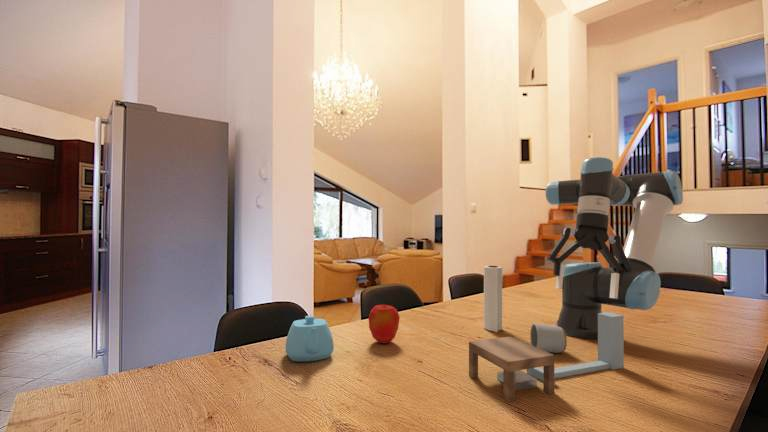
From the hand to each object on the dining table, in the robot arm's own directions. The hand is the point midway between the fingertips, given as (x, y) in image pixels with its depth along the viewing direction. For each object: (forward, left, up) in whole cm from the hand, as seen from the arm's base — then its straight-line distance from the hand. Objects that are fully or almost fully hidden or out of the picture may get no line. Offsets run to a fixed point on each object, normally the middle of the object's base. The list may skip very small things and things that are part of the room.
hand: (585, 293), depth 98 cm
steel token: (+26, +4, -18) cm, 32 cm away
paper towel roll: (+4, -34, -18) cm, 39 cm away
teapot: (+67, -28, -18) cm, 75 cm away
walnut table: (+28, +4, -18) cm, 33 cm away
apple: (+44, -33, -18) cm, 58 cm away
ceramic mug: (+3, -11, -18) cm, 21 cm away
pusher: (+7, +4, -18) cm, 19 cm away
